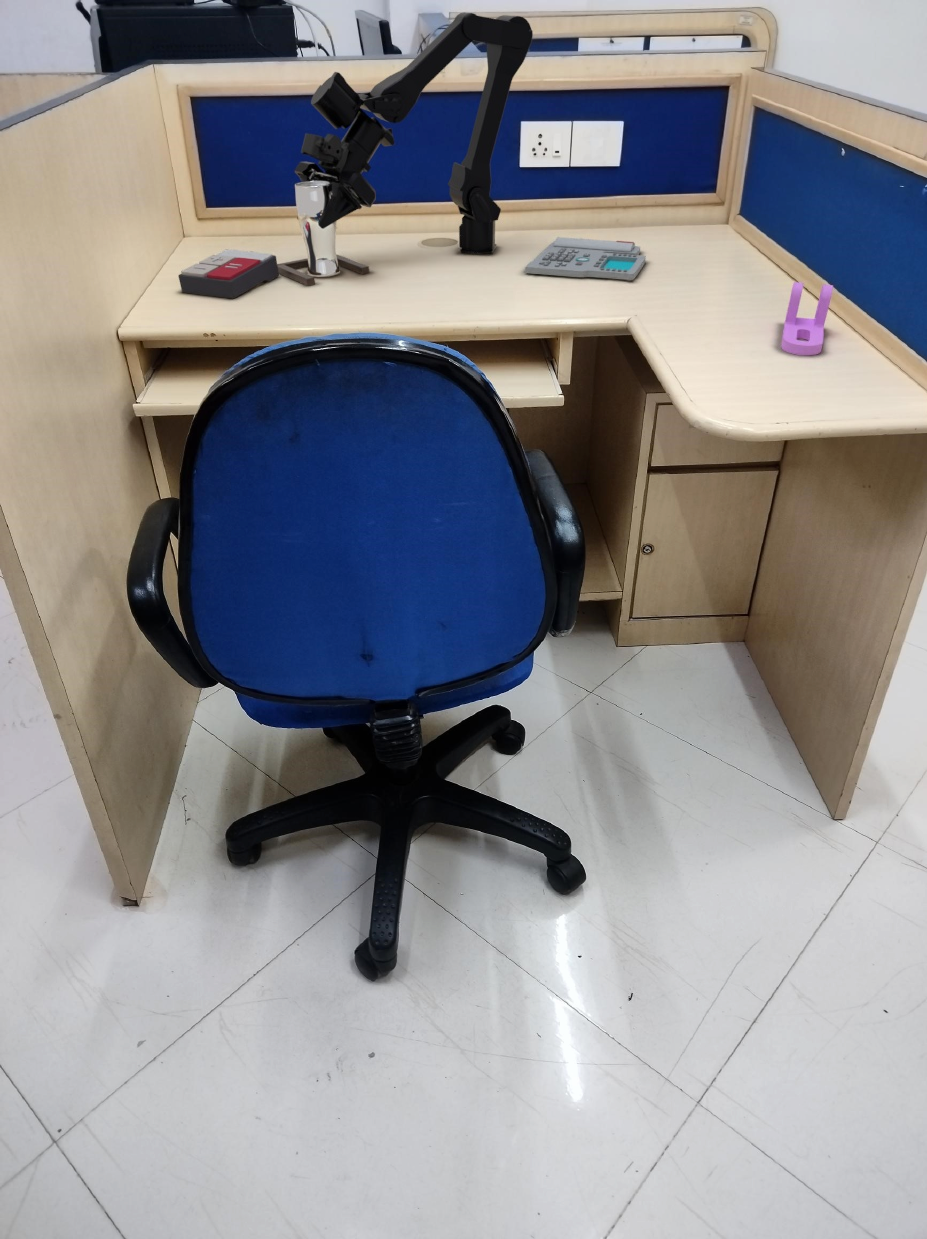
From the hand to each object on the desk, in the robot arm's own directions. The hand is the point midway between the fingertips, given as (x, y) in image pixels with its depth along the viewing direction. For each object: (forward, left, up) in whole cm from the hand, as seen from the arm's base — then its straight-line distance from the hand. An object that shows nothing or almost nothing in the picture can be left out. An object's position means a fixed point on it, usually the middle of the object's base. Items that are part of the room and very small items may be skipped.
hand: (309, 223), depth 151 cm
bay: (-1, -2, -9) cm, 9 cm away
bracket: (-84, +22, -9) cm, 87 cm away
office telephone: (-50, -17, -9) cm, 54 cm away
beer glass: (-1, -1, -9) cm, 9 cm away
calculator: (+13, +9, -9) cm, 18 cm away
